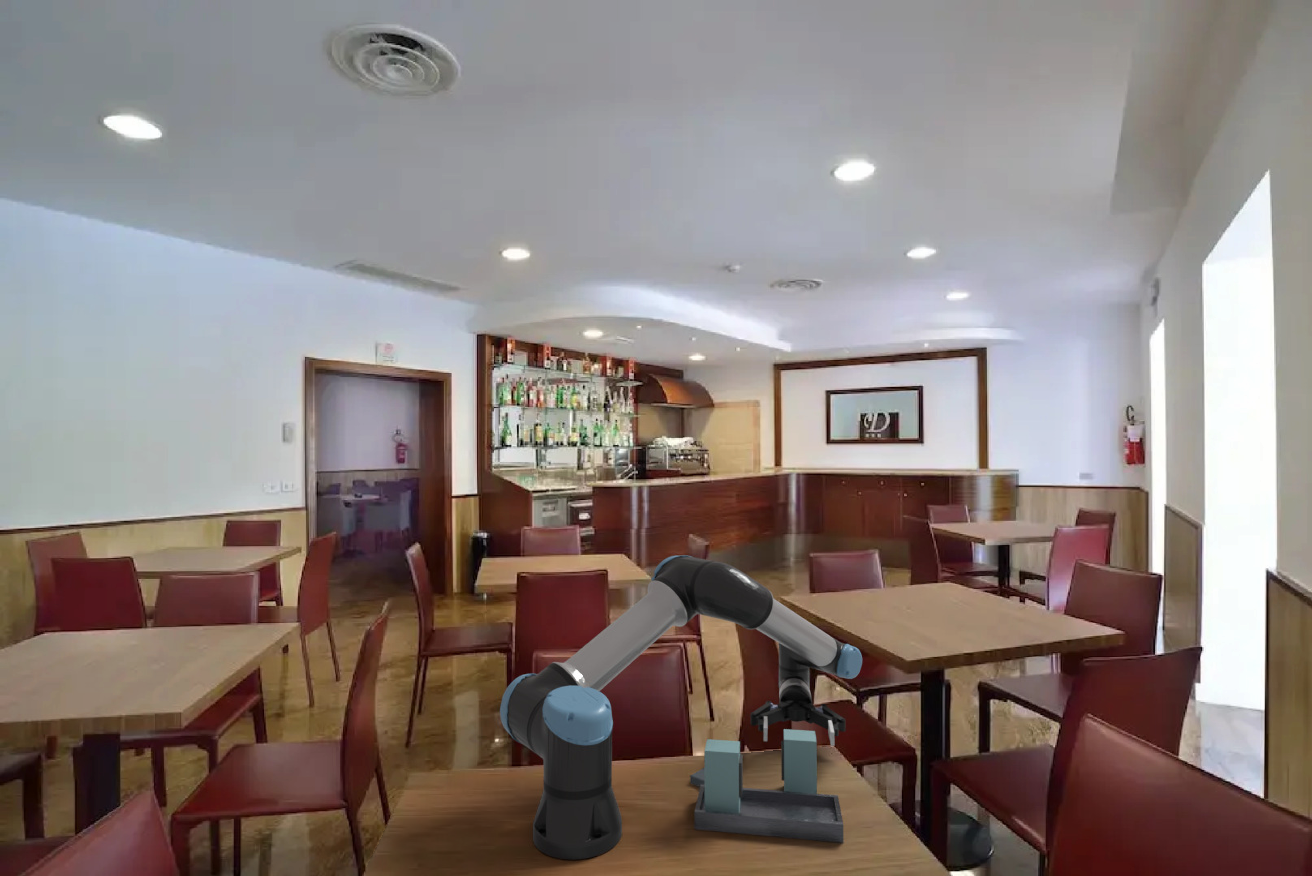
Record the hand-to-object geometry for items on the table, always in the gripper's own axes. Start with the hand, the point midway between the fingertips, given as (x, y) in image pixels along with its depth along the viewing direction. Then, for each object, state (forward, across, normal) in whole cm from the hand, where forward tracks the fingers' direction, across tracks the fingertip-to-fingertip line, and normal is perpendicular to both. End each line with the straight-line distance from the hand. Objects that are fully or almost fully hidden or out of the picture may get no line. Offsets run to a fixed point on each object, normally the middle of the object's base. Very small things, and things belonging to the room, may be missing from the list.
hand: (798, 736), depth 141 cm
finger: (+10, 0, -7) cm, 12 cm away
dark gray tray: (+21, +6, -6) cm, 23 cm away
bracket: (+6, +17, -7) cm, 20 cm away
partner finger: (+21, +14, -5) cm, 26 cm away
